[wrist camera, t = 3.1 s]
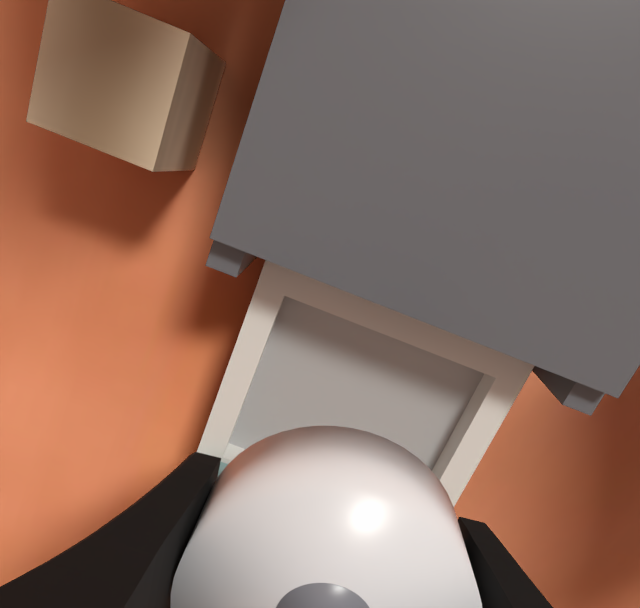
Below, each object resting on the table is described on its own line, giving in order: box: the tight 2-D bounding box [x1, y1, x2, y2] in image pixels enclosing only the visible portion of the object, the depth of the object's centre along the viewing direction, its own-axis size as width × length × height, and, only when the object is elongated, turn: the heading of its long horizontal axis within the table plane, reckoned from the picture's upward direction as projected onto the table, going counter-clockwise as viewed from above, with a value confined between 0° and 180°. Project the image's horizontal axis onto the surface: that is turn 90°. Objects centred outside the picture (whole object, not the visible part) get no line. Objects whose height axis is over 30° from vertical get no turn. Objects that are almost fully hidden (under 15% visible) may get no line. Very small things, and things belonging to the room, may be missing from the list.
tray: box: [197, 260, 534, 507], centre depth 17 cm, size 10×12×3 cm
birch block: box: [26, 0, 226, 172], centre depth 16 cm, size 4×4×4 cm
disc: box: [170, 426, 482, 608], centre depth 9 cm, size 6×6×2 cm
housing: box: [206, 0, 640, 416], centre depth 15 cm, size 13×14×5 cm
